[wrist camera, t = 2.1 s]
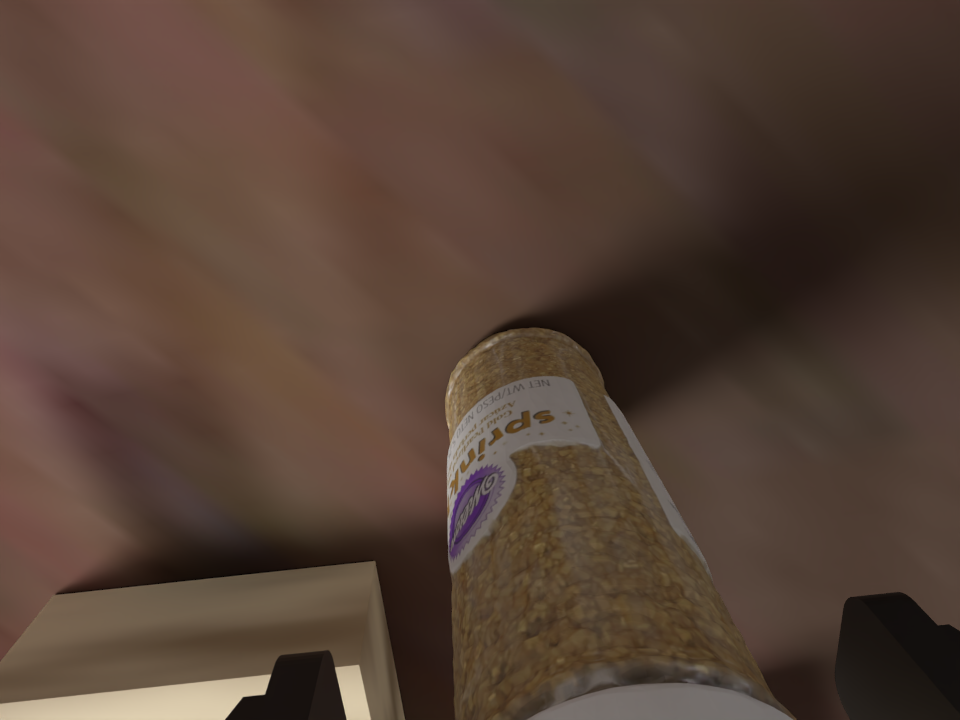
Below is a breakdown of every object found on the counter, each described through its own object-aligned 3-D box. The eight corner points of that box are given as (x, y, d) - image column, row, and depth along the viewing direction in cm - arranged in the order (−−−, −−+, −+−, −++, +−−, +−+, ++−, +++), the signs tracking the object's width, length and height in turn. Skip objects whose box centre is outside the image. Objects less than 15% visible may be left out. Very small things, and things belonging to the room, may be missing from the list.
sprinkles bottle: (469, 304, 17) (532, 842, 5) (627, 346, 18) (1053, 917, 5) (425, 449, 19) (383, 1145, 6) (572, 484, 19) (800, 1173, 7)
